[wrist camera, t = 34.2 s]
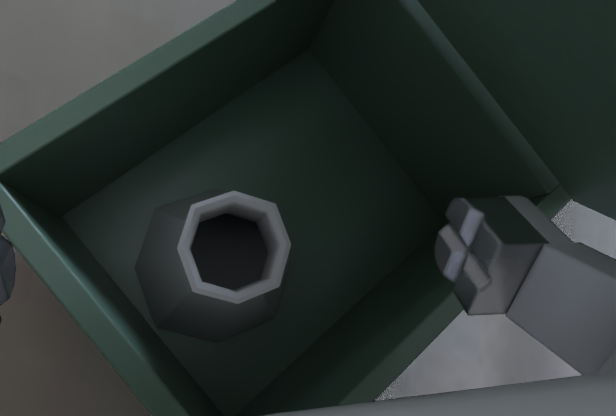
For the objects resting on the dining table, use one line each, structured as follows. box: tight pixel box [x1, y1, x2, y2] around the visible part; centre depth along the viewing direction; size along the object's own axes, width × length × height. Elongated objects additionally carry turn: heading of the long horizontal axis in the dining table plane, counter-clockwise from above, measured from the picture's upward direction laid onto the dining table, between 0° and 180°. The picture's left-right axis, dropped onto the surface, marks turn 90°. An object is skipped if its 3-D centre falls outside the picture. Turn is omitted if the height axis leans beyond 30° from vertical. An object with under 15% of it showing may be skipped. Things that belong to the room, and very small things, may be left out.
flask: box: [134, 189, 291, 343], centre depth 18 cm, size 7×7×10 cm
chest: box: [0, 0, 572, 416], centre depth 21 cm, size 17×14×9 cm
